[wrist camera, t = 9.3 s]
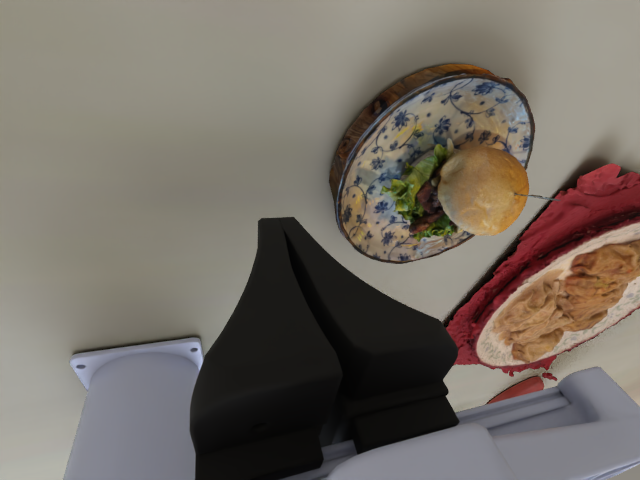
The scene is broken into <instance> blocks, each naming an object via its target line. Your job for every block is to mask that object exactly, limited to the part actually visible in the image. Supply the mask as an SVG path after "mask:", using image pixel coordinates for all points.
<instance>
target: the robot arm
mask: <svg viewBox="0 0 640 480" xmlns="http://www.w3.org/2000/svg"><path fill="white" fill-rule="evenodd" d="M457 357H458V347H457V345H456V344H455V342H454V341H453V339H452V338H451V336H450V334H449V333H448V331H447V330H446V329H445V327H444V326H443V324H442V323H441V322H440V321H439V320H438V319H436V318H434V317H431V316H429V315H427V314H424V313H422V312H420V311H417V310H415V309H412V308H410V307H408V306H406V305H404V304H402V303H400V302H398V301H396V300H394V299H392V298H391V297H389V296H387V295H385V294H383V293H382V292H380V291H378V290H377V289H375V288H373V287H372V286H370V285H368V284H367V283H365V282H364V281H362V280H361V279H359V278H358V277H357V276H355V275H354V274H353V273H351V272H350V271H349V270H347V269H346V268H345V267H343V266H342V265H341V264H340V263H339V262H337V261H336V260H335V259H334V258H333V257H332V256H331V255H330V254H328V253H327V252H326V251H325V250H324V249H323V248H322V247H321V246H320V245H319V244H318V243H317V242H316V241H315V240H314V239H313V238H312V236H311V235H310V234H309V233H308V232H307V231H306V230H305V229H304V228H303V227H302V225H301V224H300V223H299V222H298V221H297V220H296V219H295V218H294V217H283V218H261V219H260V220H259V221H258V249H257V254H256V258H255V261H254V264H253V268H252V271H251V274H250V277H249V279H248V282H247V285H246V287H245V289H244V292H243V294H242V296H241V298H240V300H239V302H238V304H237V306H236V308H235V310H234V312H233V314H232V315H231V317H230V319H229V321H228V322H227V324H226V326H225V327H224V329H223V331H222V332H221V334H220V335H219V337H218V338H217V340H216V341H215V342H214V344H213V345H212V347H211V348H210V350H209V351H208V352H207V354H206V355H205V357H204V358H203V352H202V346H201V340H200V339H198V338H186V339H179V340H172V341H164V342H157V343H150V344H143V345H135V346H128V347H121V348H114V349H106V350H99V351H92V352H85V353H78V354H74V355H72V356H71V358H70V361H69V363H70V365H71V366H72V368H73V369H74V371H75V373H76V374H77V376H78V377H79V379H80V381H81V382H82V384H83V385H84V387H85V388H86V390H87V392H88V393H87V396H86V400H85V403H84V407H83V410H82V414H81V417H80V421H79V424H78V428H77V432H76V435H75V439H74V442H73V446H72V449H71V453H70V456H69V460H68V463H67V467H66V470H65V474H64V478H63V480H606V479H608V478H610V477H613V476H616V475H618V474H620V473H622V472H624V471H626V470H628V469H630V468H632V467H634V466H636V465H638V464H640V407H639V406H638V405H637V404H636V403H635V402H634V401H633V400H632V399H631V398H630V397H629V396H628V394H627V393H626V392H625V391H624V390H623V389H622V388H621V387H620V386H619V385H618V384H617V383H616V382H615V381H614V380H613V379H612V378H611V377H610V376H609V375H608V374H607V373H606V372H605V371H604V370H603V369H602V368H601V367H593V368H589V369H585V370H581V371H577V372H574V373H572V374H570V375H568V376H566V377H565V378H564V379H563V380H561V381H560V382H559V383H558V385H557V386H556V387H552V388H548V389H544V390H540V391H536V392H533V393H529V394H525V395H521V396H517V397H513V398H510V399H506V400H502V401H498V402H494V403H490V404H486V405H483V406H479V407H475V408H471V409H467V410H463V411H460V412H456V413H455V412H454V410H453V409H452V407H451V405H450V403H449V402H448V400H447V398H446V395H447V394H448V389H447V387H446V385H445V384H444V382H443V379H444V377H445V376H446V374H447V373H448V372H449V370H450V369H451V367H452V366H453V365H454V363H455V361H456V359H457Z"/></svg>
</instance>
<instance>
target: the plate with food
mask: <svg viewBox="0 0 640 480" xmlns="http://www.w3.org/2000/svg"><path fill="white" fill-rule="evenodd" d="M620 168H621V167H620V166H618V165H616V164H613V163H612V164H608V165H605V166H603V167H600V168H598V169H596V170H594V171H592V172H590V173H588V174H585V175H584V176H580V177H579V179H578V180H577V187H576V188H570V189H568V190H567V191H560V193H559V194H558V195H557V196H556V197H555V198H554V199H556V200H560V201H556V200H553V201H552V203H551V204H550V205H549V207H548V208H547V209H546V210H545V211H544V213H543V214H541V216H540V217H539V218H538V219H537V220H536V222H533V223H532V225H531V226H530V227H529V229H528V230H526V231H525V233H524V234H523V236H521V237H520V238H519V240H521V243H520V244H519V245H517V250H516V251H515V253H513V255H511V256H510V257H508V260H505V261H504V262H503V263H502V264H501V265H500V266H499V267H498V268H497V269H496V271H495V272H493V275H495V276H494V277H493V278H492V279H491V280H490V281H489V282H488V283H486V284H485V285H483V287H482V288H480V290H479V291H477V292H476V293H475V294H474V295H473V296H472V298H471V300H470V301H469V302H468V303H466V304H465V305H464V306H463V307H461V308H460V309H459V310H458V311H457V312H456V314H455V315H454V316H453V318H454V319H453V320H450V322H449V325H448V327H446V328H445V329H446V330H447V331H448V333H449V334H450V336H451V338H452V339H453V341H454V342H455V344H456V345H457V347H458V357H457V359H456V361H455V363H454V365H456V364H458V365H462V364H463V365H466V364H469V365H471V364H476V365H477V364H481V365H484V366H486V367H489V368H491V369H493V370H494V369H495V368H499V369H502V371H503V372H504V373H508V371H509V370H510V372H509V376H512V377H513V376H514V374H513V372H514V371H516V372H521V371H523V370H525V369H528V368H532V369H534V370H535V369H538V368H540V367H544V368H545V369H546V370H548V369H549V367H550V364H551V363H552V361H553V360H555V359H556V355H559V354H560V353H563V352H565V351H571V349H573V348H574V347H578V345H580V344H582V343H584V342H586V341H588V340H590V339H594V338H595V337H596V336H597V335H598V334H599V333H602V332H603V331H605V329H606V328H607V329H608V328H609V327H611V326H613V325H615V324H617V323H618V322H619V321H621V320H622V319H625V318H626V317H627V316H629V315H631V313H632V312H634V311H635V310H636V309H639V308H640V175H639V174H637V173H634V172H630V173H626V174H625V175H623V176H621V177H619V178H616V177H617V175H618V174H619V171H620V170H621V169H620ZM454 365H453V366H454ZM551 368H552V367H551ZM542 376H543V377H544V378H548V379H553V380H555V381H557V378H556V377H554V376H552V374H551V373H543V374H542Z"/></svg>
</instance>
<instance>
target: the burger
mask: <svg viewBox="0 0 640 480" xmlns="http://www.w3.org/2000/svg"><path fill="white" fill-rule="evenodd" d="M534 133H535V123H534V119H533V115H532V113H531V109H530V107H529V104H528V100H527V99H526V97H525V95H524V94H523V93H521V92H520V91H519V89H518V88H517V87H516V86H515V85H514V84H513V82H512V81H511V80H510V79H509V78H500V77H498V76H495V75H494V74H492V73H491V72H490V71H488V70H485V69H482V68H479V67H476V66H473V65H466V64H447V65H442V66H437V67H432V68H427V69H425V70H423V71H420V72H418V73H416V74H413V75H411V76H408V77H406V78H404V79H402V80H401V81H399V82H398V83H396V84H395V85H393V86H392V87H390V88H389V89H387V90H386V91H384V92H383V93H382V94H380V95H379V96H378V97H377V98H376V99H375V100H374V101H373V102H372V103H371V104H370V105H369V106H368V107H367V108H365V109H364V110H363V111H362V113H361V114H360V115H359V117H358V118H357V119H356V120H355V122H354V123H353V124H352V126H351V127H350V128H349V130H348V131H347V133H346V134H345V136H344V138H343V140H342V142H341V144H340V146H339V148H338V149H337V152H336V158H335V162H334V164H333V165H332V168H331V171H330V176H329V183H330V187H331V192H332V196H333V199H334V206H335V214H336V222H337V224H338V227H339V230H340V232H341V234H342V235H343V236H344V237H345V238H346V239H347V240H348V241H349V242H350V243H351V244H352V246H353V247H354V248H355V249H356V250H357V251H358V252H360V253H361V254H363V255H365V256H367V257H369V258H371V259H374V260H378V261H380V262H386V263H394V264H403V263H408V262H412V261H416V260H420V259H424V258H429V257H433V256H437V255H439V254H441V253H443V252H445V251H447V250H449V249H452V248H455V247H457V246H459V245H461V244H462V243H464V242H466V241H467V240H469V239H471V238H472V237H474V236H475V235H480V236H481V235H491V236H493V235H496V234H498V233H500V232H502V231H504V230H506V229H507V228H508V227H509V226H510V225H511V224H512V223H513V222H514V221H515V220H516V219H517V218H518V216H519V215H520V213H521V211H522V210H523V208H524V206H525V203H526V200H527V197H528V196H529V197H537V198H542V199H549V200H556V199H550V198H547V197H542V196H536V195H528V193H529V183H528V177H527V173H526V171H525V170H526V169H527V166H528V165H527V164H528V162H529V159H530V155H531V152H532V146H533V141H534ZM556 201H560V200H556Z"/></svg>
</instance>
